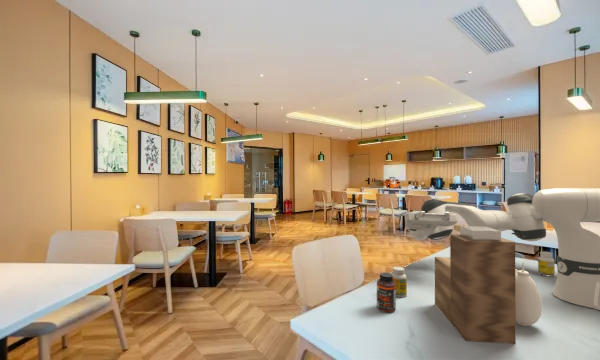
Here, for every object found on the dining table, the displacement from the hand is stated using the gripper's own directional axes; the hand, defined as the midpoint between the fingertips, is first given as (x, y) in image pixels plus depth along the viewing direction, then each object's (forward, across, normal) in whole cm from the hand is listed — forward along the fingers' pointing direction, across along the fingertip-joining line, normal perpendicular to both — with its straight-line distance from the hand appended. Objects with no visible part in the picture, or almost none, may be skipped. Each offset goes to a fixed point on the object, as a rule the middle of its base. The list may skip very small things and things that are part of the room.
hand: (435, 213), depth 109 cm
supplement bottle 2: (-2, +16, -31) cm, 35 cm away
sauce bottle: (+13, -15, -38) cm, 43 cm away
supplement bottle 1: (+9, +23, -37) cm, 44 cm away
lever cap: (+26, 0, -15) cm, 30 cm away
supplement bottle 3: (-29, -53, -17) cm, 63 cm away
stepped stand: (+13, 0, -38) cm, 41 cm away
